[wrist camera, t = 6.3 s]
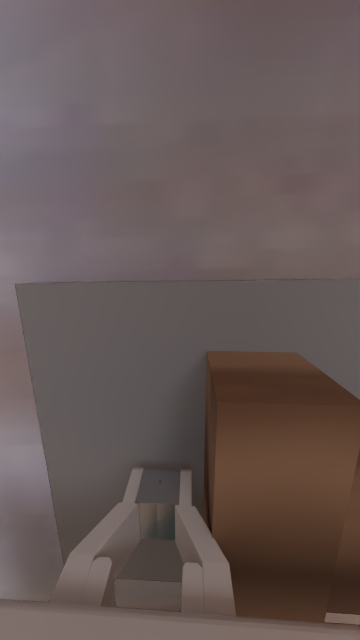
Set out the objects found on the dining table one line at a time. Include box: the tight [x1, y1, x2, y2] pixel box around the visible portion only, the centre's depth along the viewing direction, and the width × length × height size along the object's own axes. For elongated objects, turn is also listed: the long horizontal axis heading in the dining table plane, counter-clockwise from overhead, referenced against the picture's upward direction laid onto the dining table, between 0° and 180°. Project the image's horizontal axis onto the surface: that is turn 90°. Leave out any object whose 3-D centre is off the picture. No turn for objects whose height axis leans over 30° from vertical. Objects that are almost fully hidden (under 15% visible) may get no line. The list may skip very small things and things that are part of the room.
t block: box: [203, 351, 360, 622], centre depth 9 cm, size 12×11×4 cm
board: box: [15, 279, 360, 582], centre depth 11 cm, size 18×29×1 cm, turn 91°
